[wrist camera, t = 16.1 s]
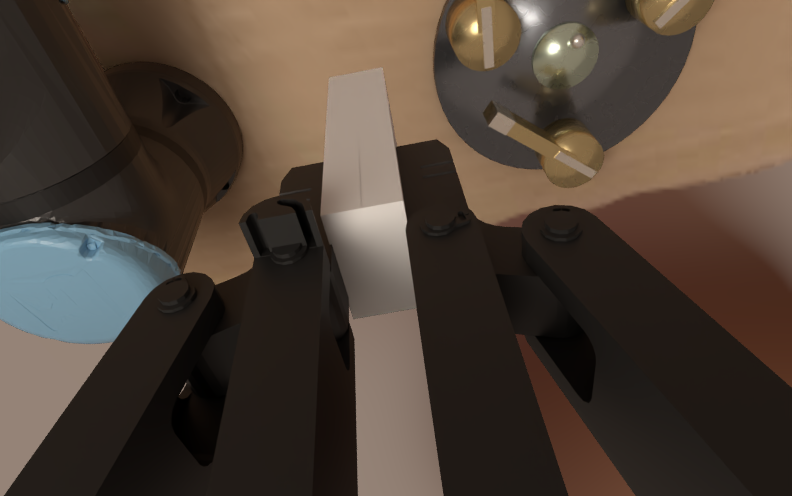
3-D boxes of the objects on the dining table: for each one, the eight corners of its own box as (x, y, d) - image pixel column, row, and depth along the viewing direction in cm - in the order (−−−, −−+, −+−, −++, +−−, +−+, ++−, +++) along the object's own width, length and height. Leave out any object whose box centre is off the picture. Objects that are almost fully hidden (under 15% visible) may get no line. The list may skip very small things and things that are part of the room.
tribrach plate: (446, 182, 57) (450, 194, 55) (416, -68, 42) (419, -63, 40) (668, 142, 56) (679, 152, 54) (718, -131, 41) (736, -128, 39)
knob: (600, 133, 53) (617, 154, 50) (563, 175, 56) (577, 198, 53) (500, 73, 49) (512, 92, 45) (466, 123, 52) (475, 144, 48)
